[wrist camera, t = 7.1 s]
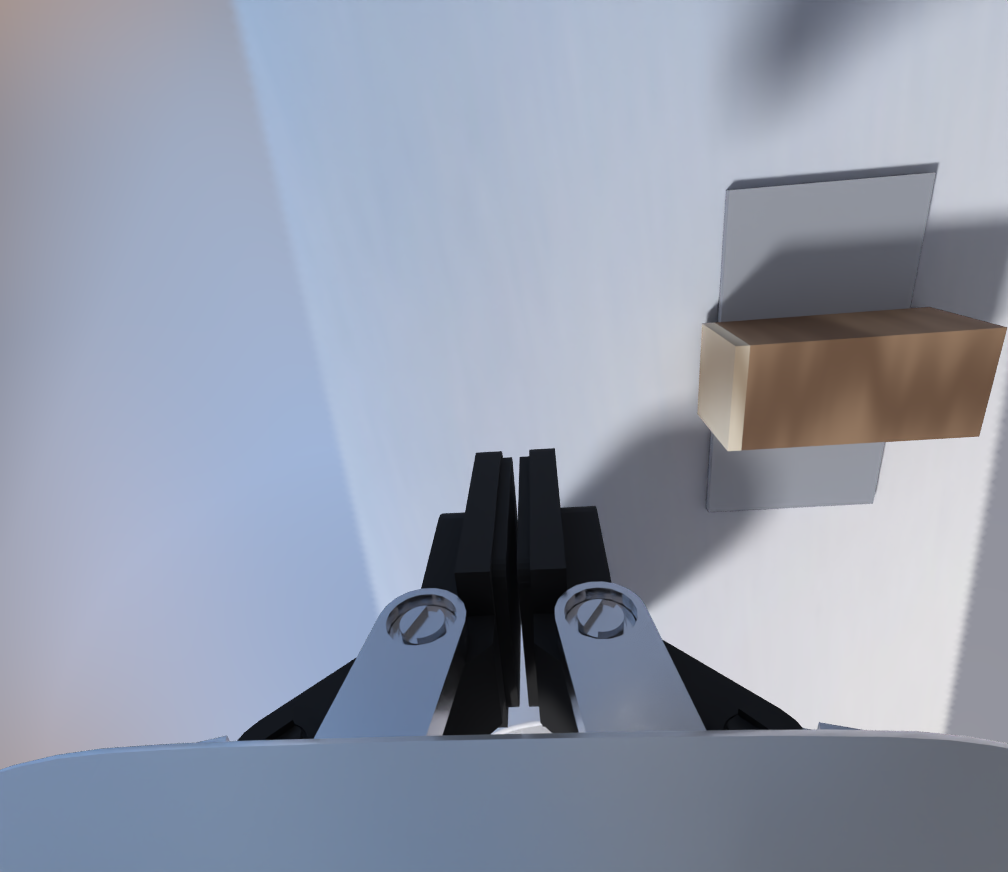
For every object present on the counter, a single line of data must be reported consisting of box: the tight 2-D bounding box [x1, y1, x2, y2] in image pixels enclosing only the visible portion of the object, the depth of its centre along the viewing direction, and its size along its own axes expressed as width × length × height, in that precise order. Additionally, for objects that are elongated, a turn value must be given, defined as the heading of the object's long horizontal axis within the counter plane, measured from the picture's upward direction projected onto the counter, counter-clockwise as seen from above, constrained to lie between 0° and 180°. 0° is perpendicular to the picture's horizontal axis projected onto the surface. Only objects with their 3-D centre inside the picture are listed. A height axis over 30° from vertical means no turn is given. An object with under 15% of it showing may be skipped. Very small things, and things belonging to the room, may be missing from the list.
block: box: [697, 307, 1007, 451], centre depth 22 cm, size 4×4×9 cm
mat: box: [706, 172, 936, 512], centre depth 24 cm, size 14×8×1 cm, turn 5°
